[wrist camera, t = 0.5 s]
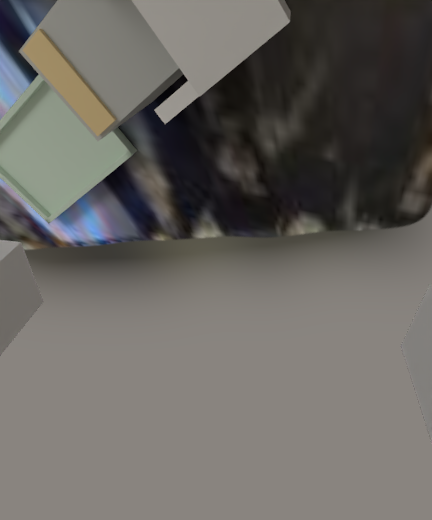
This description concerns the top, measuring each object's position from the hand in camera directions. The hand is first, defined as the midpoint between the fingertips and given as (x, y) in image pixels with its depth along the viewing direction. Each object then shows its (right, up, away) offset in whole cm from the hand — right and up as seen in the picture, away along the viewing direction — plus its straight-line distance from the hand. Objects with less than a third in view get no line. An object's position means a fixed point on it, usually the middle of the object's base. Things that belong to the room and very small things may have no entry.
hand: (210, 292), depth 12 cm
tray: (-15, +12, +23) cm, 30 cm away
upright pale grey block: (-3, +19, +15) cm, 25 cm away
